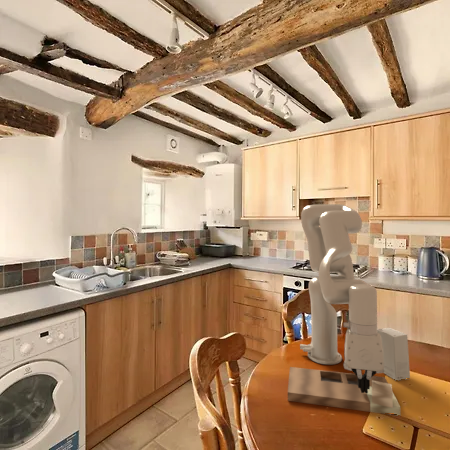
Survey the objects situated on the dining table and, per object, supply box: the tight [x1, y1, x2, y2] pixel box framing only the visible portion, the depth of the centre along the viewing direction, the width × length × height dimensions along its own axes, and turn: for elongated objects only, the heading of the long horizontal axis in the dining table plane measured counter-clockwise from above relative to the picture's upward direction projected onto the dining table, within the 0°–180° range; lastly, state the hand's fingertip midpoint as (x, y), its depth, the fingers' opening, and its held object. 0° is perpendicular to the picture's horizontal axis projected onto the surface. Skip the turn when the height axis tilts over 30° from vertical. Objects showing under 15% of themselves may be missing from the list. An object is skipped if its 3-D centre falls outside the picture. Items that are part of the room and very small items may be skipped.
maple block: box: [372, 380, 394, 408], centre depth 84 cm, size 5×5×4 cm
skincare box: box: [377, 327, 411, 381], centre depth 103 cm, size 8×6×15 cm
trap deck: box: [287, 366, 401, 416], centre depth 93 cm, size 30×16×2 cm, turn 75°
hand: (363, 390), depth 87 cm, fingers closed
